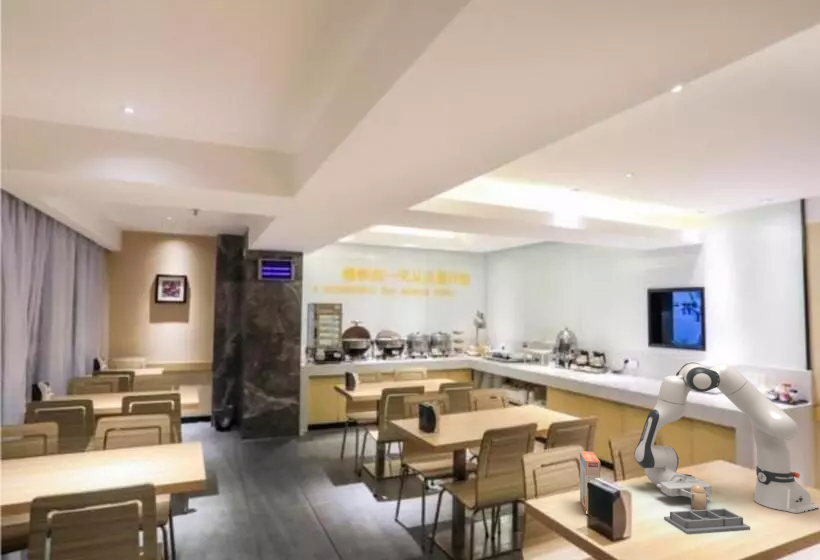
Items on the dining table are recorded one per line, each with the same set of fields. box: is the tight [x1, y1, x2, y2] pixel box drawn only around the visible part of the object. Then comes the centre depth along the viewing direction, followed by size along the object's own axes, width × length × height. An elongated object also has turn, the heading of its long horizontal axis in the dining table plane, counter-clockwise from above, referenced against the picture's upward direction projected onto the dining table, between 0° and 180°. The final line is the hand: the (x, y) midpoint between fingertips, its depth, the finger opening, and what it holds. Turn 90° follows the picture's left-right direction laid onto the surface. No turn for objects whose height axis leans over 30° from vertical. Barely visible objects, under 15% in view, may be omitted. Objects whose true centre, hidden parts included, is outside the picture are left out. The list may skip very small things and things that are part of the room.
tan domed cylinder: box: [690, 484, 707, 510], centre depth 191 cm, size 5×5×10 cm
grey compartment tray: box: [663, 508, 751, 535], centre depth 177 cm, size 26×12×4 cm, turn 99°
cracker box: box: [579, 450, 601, 513], centre depth 191 cm, size 14×6×21 cm, turn 168°
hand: (699, 495), depth 191 cm, fingers closed on tan domed cylinder, 5 cm apart
